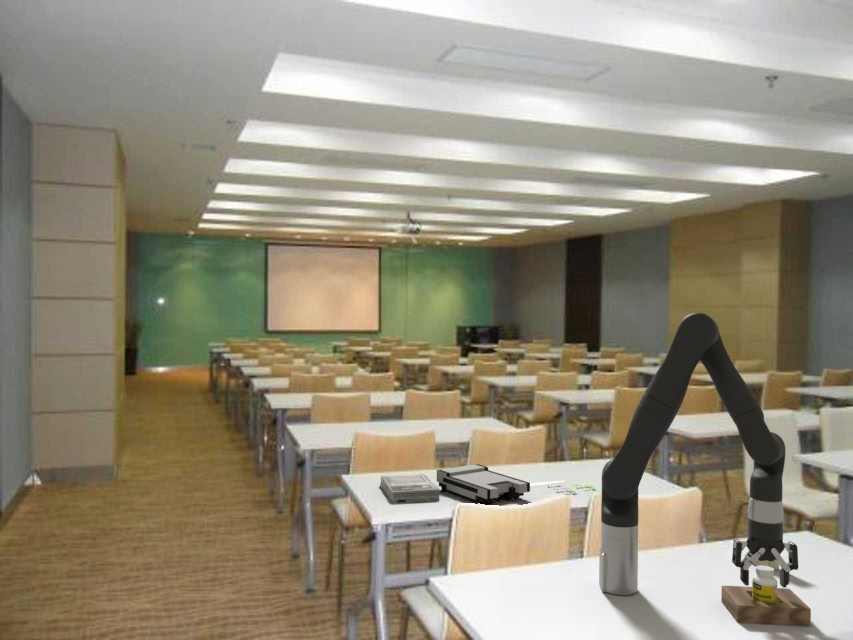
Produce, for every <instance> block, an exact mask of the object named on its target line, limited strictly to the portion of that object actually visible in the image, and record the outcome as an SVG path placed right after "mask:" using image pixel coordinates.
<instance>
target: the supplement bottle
mask: <svg viewBox="0 0 853 640" xmlns="http://www.w3.org/2000/svg"><path fill="white" fill-rule="evenodd" d="M774 576H775V570H774V569H773V568H772V567H769V566H763V565H759V566H756V565H755V574H754V575H753V576H752V581H751V587H752V599H753V600H754V601H755V602H774V603H777V588H778V580H777V579H776V578H775V577H774Z"/></svg>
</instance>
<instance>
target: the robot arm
mask: <svg viewBox="0 0 853 640" xmlns="http://www.w3.org/2000/svg"><path fill="white" fill-rule="evenodd" d="M732 361H733V360H732V359H731V357H730V355H729V354H728V351H727V349H726V347H725V344H724V342H723V340H722V336H721V333H720V329H719V326H718V324H717V322H716V321H715V320H714V319H713V318H712V317H711V316H710V315H708V314H706V313H703V312H692V313H689V314H688V315H686V316H685V317H683V319H681V321H680V322H679V324H678V326H677V329H676V331H675V334H674V337H673V340H672V343H671V344H670V347H669V349H668V351H667V353H666V355H665V358H664V360H663V362H662V363H661V365H660V366H659V367H658V369H657V371H656V372H655V374H654V375H653V377H652V378H651V381H650V382H649V384H648V386H647V387H646V389H645V391H644V393H643V395H642V396H641V398H640V400H639V402H638V404H637V406H636V409H635V411H634V413H633V415H632V419H631V421H630V424H629V427H628V430H627V432H626V436H625V439H624V441H623V443H622V445H621V446H620V449H619V450H618V452H617V453H616V455H615V456H614V458H612V459H610V460H609V461H607V462H606V463H605V464H604V466H603V469H602V472H601V506H600V509H601V511H600V515H601V516H600V517H601V519H600V520H601V522H600V525H601V526H600V527H601V529H600V536H601V537H600V547H599V555H598V556H599V557H598V559H599V560H598V561H599V565H598V569H599V572H598V573H599V574H598V576H599V577H598V584H599V587H600V590H601V591H602V593H608V594H612V595H616V596H631V595H634V594H636V593H637V592H638V586H639V584H638V583H639V582H638V577H639V576H638V575H639V574H638V572H639V570H638V569H639V566H638V565H639V486H640V483H641V480H642V479H643V475H644V474H645V471H646V467H647V466H648V464H649V461H650V459H651V457H652V456H653V454H654V452H655V451H656V449H657V447H658V446H659V445H660V443H661V441H662V440H663V438H664V437H665V435H666V434H667V432H668V430H669V429H670V427H671V425H672V423H673V422H674V420H675V418H676V416H677V415H678V412H679V411H680V409H681V407H682V404H683V401H684V399H685V397H686V394H687V391H688V388H689V385H690V381H691V379H692V375H693V373H694V371H695V369H696V367H697V366H698V365H699V362H701V364H702V365H703V367H704V368H705V370H706V372H707V373H708V375H709V376H710V379H711V381H712V383H713V385H714V387H715V390H716V392H717V395H718V396H719V399H720V400H721V402H722V404H723V407H724V408H725V409H726V411H727V413H728V415H729V416H730V418H731V419H732V422H733V423H734V424H735V426H736V428H737V431H738V434H739V436H740V439H741V442H742V444H743V447H744V449H745V451H746V453H747V454H748V456H749V458H751V459H752V460H753V472H752V473H751V476H750V479H749V501H748V505H747V506H748V507H747V508H748V509H747V539H746V541H745V540H739V539H738V538H734V539H733V542H732V543H733V544H732V557H731V562H732V563H733V564H734V566H735V567H737V568H740V571H739V573H740V574H739V579H740V582H742V583H743V585H744V586H746V587H749V585H750V570H749V569H750V567H751V566H752V565H754V563H755V562H756V561H757V560H759V561H766V560H767V561H774V560H776V561H777V562H778V563H779V567H780V568H779V585H780V586H781V588H786V589H787V588H788V585H789V584H790V572H792V571H794V570H795V571H797V570H798V569H799V551H798V549H799V548H798V545H797V544H796V543H794V542H793V541H788V542H784V540H783V539H784V503H783V491H784V490H783V476H784V475H783V473H784V470H785V469H784V468H785V463H786V462H785V461H786V444H785V442H784V439H783V438H782V437H781V436H780V435H779V434H777V433H775V432H772V431H771V430H770V429H769V427H768V425H767V424H766V422H765V415H764V411H763V409H762V408H761V406H760V404H759V402H758V401H757V399H756V398H755V395H754V394H753V392H752V391H751V389H750V388H749V386H748V384H747V383H746V381H745V380H744V378H743V377H742V375H741V374H740V372H739V371H738V370H737V368H736V366H735V365H734V363H733V362H732ZM745 548H747V549H748V551H747V552H746V554H744V557H743V559H742V553H743V552H742V551H744V550H745ZM784 550H786V552H787V553H788V562H786V561H785V559H784V558H783V557H782V555H781V553H782V552H783V551H784Z"/></svg>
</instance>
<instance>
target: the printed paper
mask: <svg viewBox="0 0 853 640" xmlns="http://www.w3.org/2000/svg"><path fill="white" fill-rule="evenodd" d="M561 482H564V480H555V481H543V482H529V483H530V487H532V486H537V485H538V486H540V485H547V484H553V483H554V484H555V483H561ZM571 485H572V486H573V487H574V488H576V489H583V488H586V489H583V491H588V490H590V489H591V490H593V491H594V492H593V494H596V493H595V492H596V487H595V486H593V485H591V484H587V483H580V484H579V486H578V484H573V483H572V484H571ZM563 486H565V485H561V484H555V485H551V486H550V485H548V486H547V488H553V487H555V488H553V490H554V491H555V493H557V494H558V493H564V492H568V493H566V494H567V495H570V494H573V495H578V492H576V491H575V490H573V489H570V488H569V487H563ZM557 487H558V488H557ZM560 487H561V488H560ZM559 488H560V490H559ZM597 492H601V491H600V490H599V491H598V490H597Z"/></svg>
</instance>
